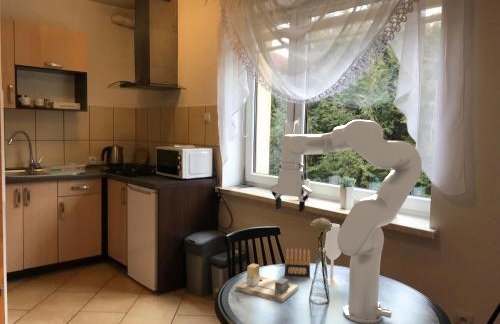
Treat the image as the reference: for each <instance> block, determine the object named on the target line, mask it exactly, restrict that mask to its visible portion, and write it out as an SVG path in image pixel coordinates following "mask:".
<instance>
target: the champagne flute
mask: <svg viewBox="0 0 500 324" xmlns="http://www.w3.org/2000/svg"><path fill="white" fill-rule="evenodd" d="M331 224H332V227H331V230H330V231H328V232H327V231H326V234H325V242H324V248H325V249H326V254H325V255H326V257H327V258H328V259H329V260H330V267H329V268H330V270H329V272H330V273H329V278H328V279H327V280H328V284H329V286H328V287H338V286H340V284H341V283H340V282H339V281H337V280H336V279H334V264H335V261H334V260H337V258H339V257H340V255H341V254H342V252H341V251H340V249H339V247H338V245H337V235H338V232H339V230H340V228H341V225H340V224H339V223H338V224H337V223H331Z"/></svg>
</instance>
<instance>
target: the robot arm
mask: <svg viewBox="0 0 500 324" xmlns="http://www.w3.org/2000/svg"><path fill="white" fill-rule="evenodd" d="M349 150H350V151H351V150H353V151H354V152H356V153H357V154H358V155H359V156H360V157H361V158H362V159H363V160H365V161H366V162H368V163H369V164H370V165H372V166H373V167H375V168H377V169H380V170H391V171H390V173H389V174H388V175H386V176H385V177H384V179H383V181H382V182H381V184H380V186H379V188H378V189H377V190H376V192H375V193H374V195H372V196H369V197H364V198H361V199H360V200H357V202H355V203H354V204H353V206H352V207H351V208H350V210H349V212H348V213H347V216H346V217H345V219H344V221H343V223H342V224H341V225H340V230H339V232H338V235H337V245H338V247H339V249H340V251H341V254H342V253H343V254H344V255H345V256H349V257H350V260H349V261H350V262H349V277H348V278H349V279H348V282H349V283H348V298H347V299H348V303H347V304H348V305H345V306H344V307H343V308H342V311H343V315H344V317H346V318H347V319H349V320H351V321H353V322H356V323H360V324H377V323H380V322H381V321H382V320H383V317H385V318H388V319H391V318H392V312H391V311H390V309H389V308H386V307H385V308H384V307H382V306H381V302H380V301H379V294H380V293H379V292H380V290H379V289H380V270H381V269H380V268H381V257H382V253H383V252H382V251H383V247H384V243H385V236H384V231H383V229H382V227H384V226H387V225H389V224H391V223H392V222H393V221H394V219H395V218H396V217H397V215H398V213H399V211H400V210H401V208H402V207H403V205H404V203H405V202H406V200H407V198H408V197H409V196H410V193H411V191H413V189H414V187H415V186H416V183H417V182H418V180H419V178H420V176H421V172H422V165H423V164H422V158H421V155H420V153H419V151H418V149H417V148H416V147H415V146H414V145H413V144H411V143H409V142H407V141H405V140H404V141H403V140H387V139H384V129H383V127H382V125H381V124H380V123H378V122H376V121H375V120H367V119H353V120H352V121H350V122H349V121H348V122H347V124H345V125H340V126H336V127H334V128H333V130H332V131H331V132H328V133H321V134H309V133H308V134H306V133H305V134H284V135H283V136H282V138H281V163H280V164H281V166H280V167H281V168H280V169H279V173H278V177H277V183H276V184H274V185H272V186H270V187H269V190H270V191H271V195H272V196H273V197H274V199H275V207H276V208H275V209H276V210H280V209H281V208H282V198H281V197H282V196H289V197H297V198H298V200H300V201H299V203H298V211H299V213H302V212H304V210H305V209H306V207H305V205H306V201H307V200H308V199H309V198H310V196H311V195H312V192H313V191H312V190H311V189H310V188H308V187H307V186H305V175H304V171H303V170H302V169H303V168H305V164H303V163H302V156H303V155H304V156H305V155H307V156H310V155H325V154H329V153H337V152H340V153H341V152H344V151H345V152H346V151H349ZM305 192H306V193H305Z"/></svg>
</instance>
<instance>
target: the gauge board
mask: <svg viewBox="0 0 500 324" xmlns="http://www.w3.org/2000/svg"><path fill="white" fill-rule="evenodd" d="M260 277H261V279H260V281H259V283H257V284H256V285H254V286H251V285H247V284H246V280H247V278H246V279H245V280H244V281H241V282H240V283H238V284H236V285H235V291H238V292H243V293H246V294H247V293H248V294H250V295H255V296H258V297H262V298H266V299H271V300H273V301H277V302H282V303H283V302H285V301H286V300H287V299H288V298H289V297H291V296H292V295H293V294H294V293H295V292H297V291H298V290H299V284H294V283H290V282H289V279H288V278H282V277H280V278H279V279H278V280H277V279H273V278H267V277H263V276H260Z"/></svg>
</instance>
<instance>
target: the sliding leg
mask: <svg viewBox="0 0 500 324" xmlns="http://www.w3.org/2000/svg"><path fill="white" fill-rule="evenodd" d="M246 274H247V275H246V279H247V280H246V279H245V280H246V284H247V285H251V286H254V285H256V284H257V283H259V281H260V279H261V277H262V276H260V275H261V274H260V264H257V263H251V264H249V265H247V271H246Z"/></svg>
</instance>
